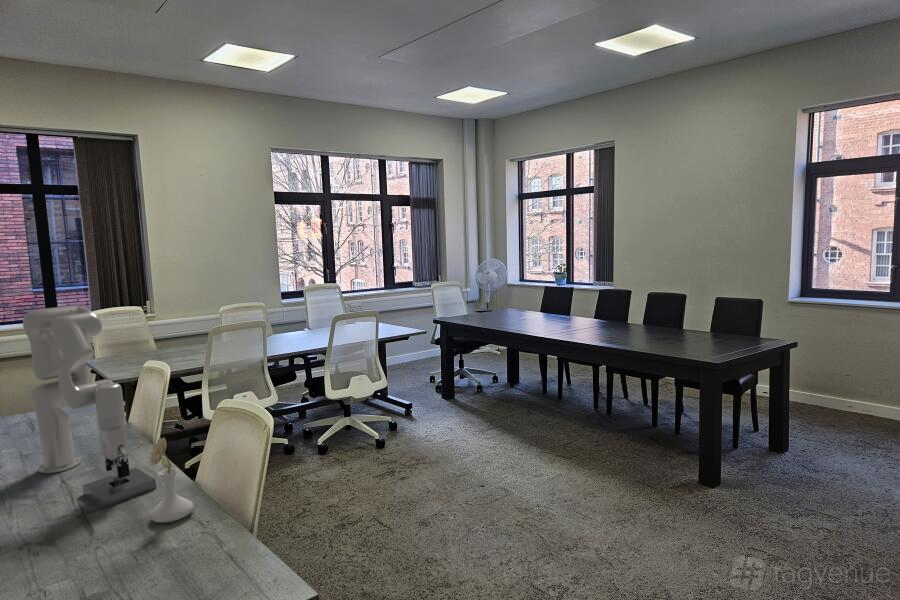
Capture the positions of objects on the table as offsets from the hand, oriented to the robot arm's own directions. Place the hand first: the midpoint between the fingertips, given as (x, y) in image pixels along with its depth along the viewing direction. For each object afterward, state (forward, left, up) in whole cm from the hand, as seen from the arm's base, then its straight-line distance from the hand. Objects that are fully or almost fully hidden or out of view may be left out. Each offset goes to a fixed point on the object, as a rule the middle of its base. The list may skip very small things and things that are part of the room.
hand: (118, 473), depth 178 cm
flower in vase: (+33, +2, -6) cm, 34 cm away
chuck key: (0, 0, -6) cm, 6 cm away
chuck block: (0, 0, -6) cm, 6 cm away
